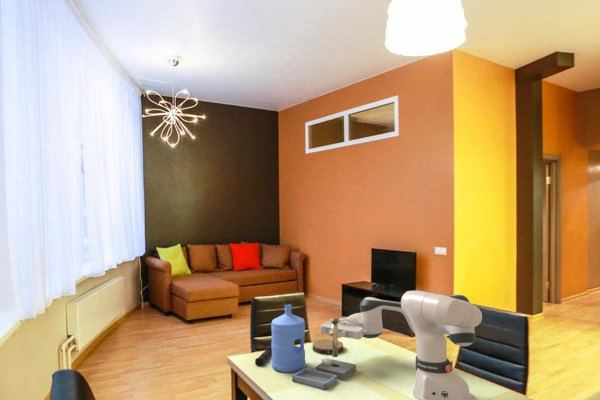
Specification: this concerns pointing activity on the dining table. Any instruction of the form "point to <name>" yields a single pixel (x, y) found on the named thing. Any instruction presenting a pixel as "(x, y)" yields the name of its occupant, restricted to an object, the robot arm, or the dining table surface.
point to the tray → (314, 378)
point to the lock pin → (334, 337)
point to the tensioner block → (336, 368)
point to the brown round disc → (326, 347)
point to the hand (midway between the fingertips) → (334, 335)
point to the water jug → (288, 342)
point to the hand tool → (264, 356)
